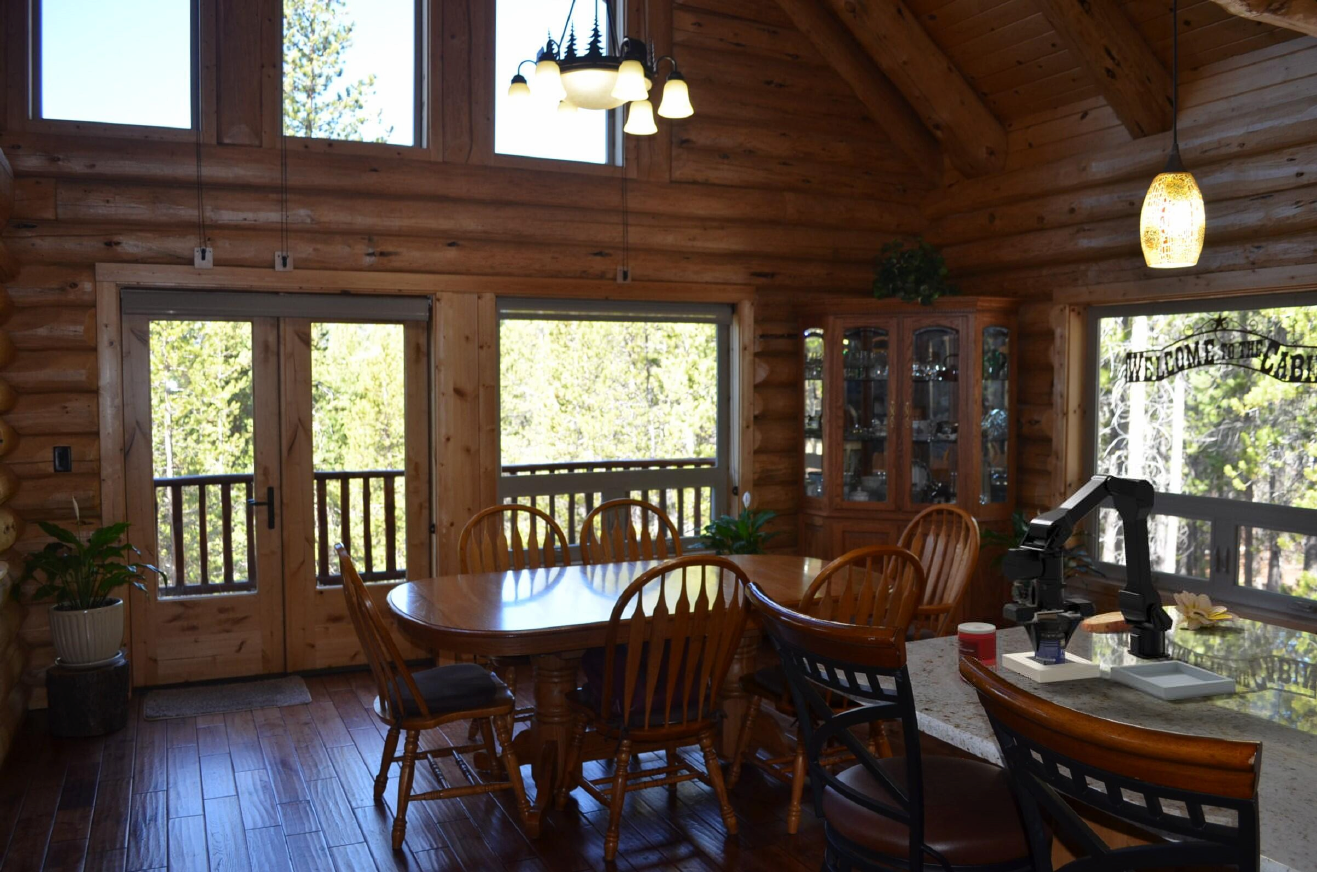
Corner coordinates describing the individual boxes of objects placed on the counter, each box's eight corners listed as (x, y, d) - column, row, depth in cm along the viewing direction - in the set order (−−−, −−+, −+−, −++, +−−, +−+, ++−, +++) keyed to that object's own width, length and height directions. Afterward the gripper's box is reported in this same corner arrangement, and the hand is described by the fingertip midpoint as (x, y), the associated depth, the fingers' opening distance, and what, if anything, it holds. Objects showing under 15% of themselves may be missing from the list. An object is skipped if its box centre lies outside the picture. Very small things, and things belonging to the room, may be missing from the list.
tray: (1177, 672, 218) (1177, 660, 218) (1235, 692, 203) (1235, 680, 202) (1110, 678, 215) (1110, 666, 214) (1164, 700, 199) (1164, 687, 199)
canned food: (997, 674, 220) (996, 623, 220) (996, 684, 213) (995, 631, 212) (959, 672, 223) (958, 621, 222) (957, 682, 215) (956, 629, 215)
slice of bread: (1080, 633, 256) (1080, 618, 256) (1083, 618, 272) (1083, 604, 272) (1161, 638, 248) (1161, 623, 248) (1159, 622, 265) (1159, 608, 265)
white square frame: (1059, 660, 230) (1059, 649, 230) (1099, 676, 216) (1099, 664, 216) (1002, 665, 227) (1002, 654, 227) (1039, 682, 213) (1039, 670, 213)
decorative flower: (1202, 629, 247) (1196, 587, 249) (1164, 631, 257) (1158, 591, 259) (1248, 627, 252) (1241, 586, 254) (1209, 629, 263) (1202, 589, 265)
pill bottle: (1067, 675, 218) (1067, 623, 218) (1037, 674, 219) (1036, 622, 219) (1062, 667, 224) (1061, 616, 224) (1032, 667, 225) (1031, 616, 225)
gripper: (1064, 568, 231) (1065, 638, 231) (988, 574, 227) (989, 645, 227) (1096, 576, 220) (1097, 649, 221) (1017, 582, 216) (1018, 657, 216)
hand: (1049, 650), depth 221 cm, fingers closed on pill bottle, 6 cm apart
